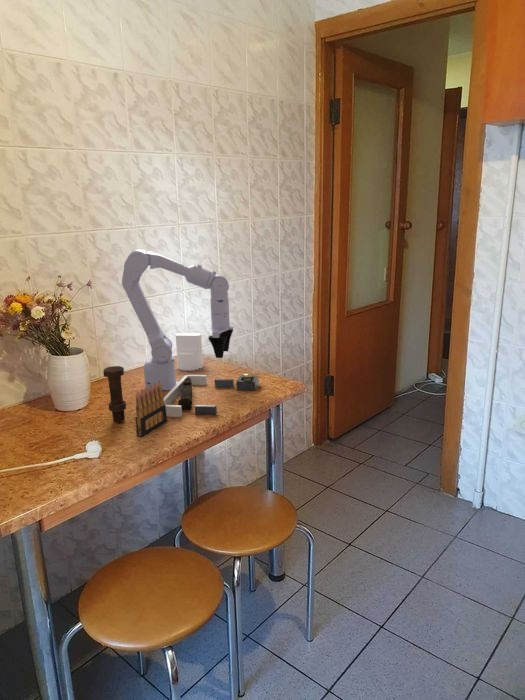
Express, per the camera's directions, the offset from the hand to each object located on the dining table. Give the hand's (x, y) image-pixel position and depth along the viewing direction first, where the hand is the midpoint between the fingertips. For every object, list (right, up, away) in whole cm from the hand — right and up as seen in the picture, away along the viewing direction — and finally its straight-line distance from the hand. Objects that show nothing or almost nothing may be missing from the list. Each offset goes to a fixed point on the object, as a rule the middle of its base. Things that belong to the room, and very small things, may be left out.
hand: (222, 354), depth 173 cm
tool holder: (+3, -13, -13) cm, 19 cm away
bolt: (-26, -18, -27) cm, 42 cm away
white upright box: (-13, -5, +20) cm, 25 cm away
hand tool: (-10, -14, -12) cm, 21 cm away
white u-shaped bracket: (-10, -13, -12) cm, 20 cm away
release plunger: (+8, -10, -4) cm, 13 cm away
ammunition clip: (-16, -19, -33) cm, 41 cm away
